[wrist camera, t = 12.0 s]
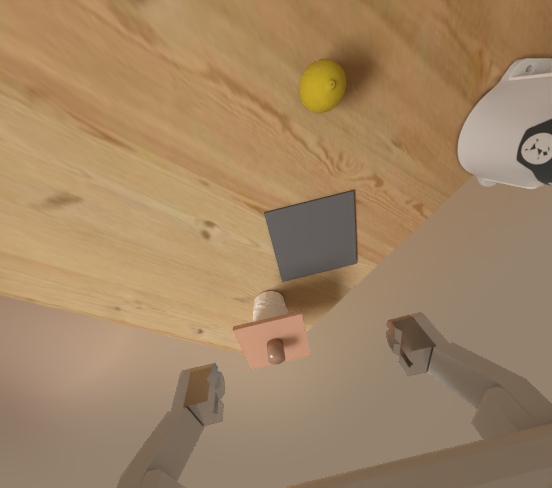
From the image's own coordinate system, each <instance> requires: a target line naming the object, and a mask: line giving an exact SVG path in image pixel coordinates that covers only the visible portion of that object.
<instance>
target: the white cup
mask: <svg viewBox="0 0 552 488" xmlns="http://www.w3.org/2000/svg"><path fill="white" fill-rule="evenodd" d="M284 314H288V310H287V307H286V305H285V302H284V298H283V296H282V295H281V294H280V293H279V292H275V291H265V292H263V293H261V294H259V295H258V296H257V297H256V298H255V301H254V311H253V322H255V321H259V320H263V319H267V318H271V317H276V316H280V315H284Z"/></svg>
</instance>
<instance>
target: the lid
mask: <svg viewBox="0 0 552 488" xmlns="http://www.w3.org/2000/svg"><path fill="white" fill-rule="evenodd" d="M233 331H234V334H235V336H236V338H237V340H238V342H239V344H240V346H241V348H242V351H243V353H244V355H245V357H246V359H247V361H248V363H249V365H250V368H251V369H256V368H260V367H264V366H268V365H273V364H280V363H282V362H285V361H289V360H294V359H298V358H302V357H306V356H310V355H311V353H310V349H309V344H308V340H307V335H306V330H305V326H304V321H303V316H302V312H301V311H296V312H292V313H288V314H284V315H280V316H276V317H271V318H267V319H263V320H259V321H255V322H251V323H246V324H242V325H238V326H234V327H233Z"/></svg>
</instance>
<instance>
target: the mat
mask: <svg viewBox="0 0 552 488" xmlns="http://www.w3.org/2000/svg"><path fill="white" fill-rule="evenodd" d="M264 214H265V218H266V222H267V225H268V229H269V233H270V237H271V241H272V244H273V248H274V252H275V256H276V260H277V263H278V267H279V271H280V275H281V279H282V282H284V281H288V280H292V279H296V278H300V277H305V276H309V275H313V274H317V273H321V272H325V271H329V270H333V269H337V268H341V267H345V266H349V265H353V264H357V259H356V234H355V209H354V191H353V190H352V191H348V192H344V193H340V194H336V195H332V196H328V197H324V198H320V199H316V200H312V201H308V202H304V203H300V204H296V205H292V206H288V207H284V208H280V209H276V210H272V211H268V212H264Z"/></svg>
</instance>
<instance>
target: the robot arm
mask: <svg viewBox="0 0 552 488" xmlns="http://www.w3.org/2000/svg"><path fill="white" fill-rule="evenodd" d="M526 68H527V69H526ZM458 158H459V161H460V164H461V165H462V167H463V168H464V169H465V170H466V171H467V172H469V173H471V174H473V175H475V176H476V177H477V179H478V181H479V183H480V184H481V185H482V186H486V187H490V186H493V185H495V184H498V183H503V184H508V185H513V186H518V187H523V188H528V189H535V188H537V187H539V186H543V185H545V184H547V185H551V186H552V58H523V59H518V60H516V61H515V62H514V63H513V64H512V65H511V66H510V67H509V69H508V70H507V71H506V73H505V74H504V76H503V77H502V79H501V80H500V82H499V83H498V84H497V85H496V86H495V87H494V88H493V89H492V90H490V91H489V92H488V93H487V94H486V95H485V96H484V97H483V98H482V99H481V100H480V101H479V102H478V103H477V105H476V106H475V107H474V109H473V110H472V111H471V113H470V114H469V116H468V118H467V120H466V121H465V123H464V126H463V128H462V130H461V133H460V137H459V141H458ZM387 327H388V328H389V329H388V331H387V332H386V337H387V341H388V344H389V346H390V348H391V349H392V351H393V353H395V354H397V355H398V356H399V362H400V364H401V366H402V367H403V369H404V371H405V372H406V374H407V376H411V375H416V374H421V373H426V372H428V374H429V375H431V376H432V377H433V378H435V379H436V380H437V381H439V382H440V383H442V384H443V385H444V386H446V387H447V388H449V389H450V390H451V391H453V392H454V393H456V394H457V395H458V396H460V397H461V398H463V399H464V400H465V401H467V402H468V403H469V404H471V405H472V406H473V407H475V408H476V409H477V410H476V412H475V414H474V416H473V418H472V422H471V423H472V424H473V426H474V427H475V429H476V430H477V431H478V433H479V434H480V436H481V437H482V438H483V440H479V441H475V442H470V443H466V444H462V445H458V446H454V447H450V448H446V449H441V450H437V451H433V452H429V453H425V454H421V455H417V456H412V457H408V458H404V459H400V460H396V461H391V462H387V463H383V464H379V465H375V466H371V467H367V468H362V469H358V470H354V471H350V472H346V473H342V474H337V475H333V476H329V477H325V478H321V479H317V480H312V481H308V482H304V483H300V484H296V485H292V486H288V487H283V488H552V403H551V402H550V401H549V400H548V399H547V398H545V397H544V396H543V395H542V394H541V393H540V392H539V391H538V390H537V389H536V388H535V387H534V386H533V385H532V384H531V383H530V382H529V381H528V380H527V379H525V378H523V377H521V376H519V375H517V374H515V373H513V372H511V371H509V370H507V369H505V368H503V367H501V366H499V365H497V364H495V363H493V362H491V361H489V360H487V359H485V358H483V357H481V356H479V355H477V354H475V353H473V352H471V351H469V350H467V349H465V348H463V347H461V346H459V345H457V344H455V343H453V342H452V343H449V342H448V341H447V340H446V339H445V338H444V336H443V335H442V334H441V333H440V332H439V331H438V330H437V329H436V328H435V326H434V325H433V324H432V323H431V322H430V321H429V320H428V318H427V317H426V316H425V315H424V314H423V313H415V314H412V315H407V316H403V317H399V318H395V319H391V320H388V321H387ZM217 368H218V367H217V365H216V364H215V363H213V364H209V365H204V366H200V367H196V368H191V369H187V370H183V371H182V372H181V374H180V375H179V380H178V384H177V388H176V392H175V396H174V400H173V404H172V408H171V411H169V412H167V413H166V415H165V416H164V417H163V419H162V420H161V421H160V423H159V424H158V426H157V427H156V428H155V430H154V431H153V432H152V434H151V435H150V437H149V438H148V439H147V441H146V442H145V444H144V445H143V446H142V448H141V449H140V450H139V452H138V453H137V454H136V456H135V457H134V459H133V460H132V461H131V463H130V464H129V466H128V467H127V468H126V470H125V471H124V473H123V474H122V475H121V477H120V480H119V483H118V486H117V488H185V487H184V486H183V485H181V484H180V483H179V482H177V481H178V479H179V477H180V475H181V473H182V471H183V469H184V467H185V465H186V463H187V461H188V459H189V457H190V455H191V453H192V451H193V449H194V447H195V445H196V443H197V441H198V439H199V437H200V435H201V433H202V431H203V429H204V427H203V426H207V425H210V424H214V423H218V422H222V420H223V408H224V404H223V402H222V401H221V399H222V397H223V395H224V393H225V383H224V378H223V375H222V373H221V372H219V371H217V370H218V369H217Z"/></svg>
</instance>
